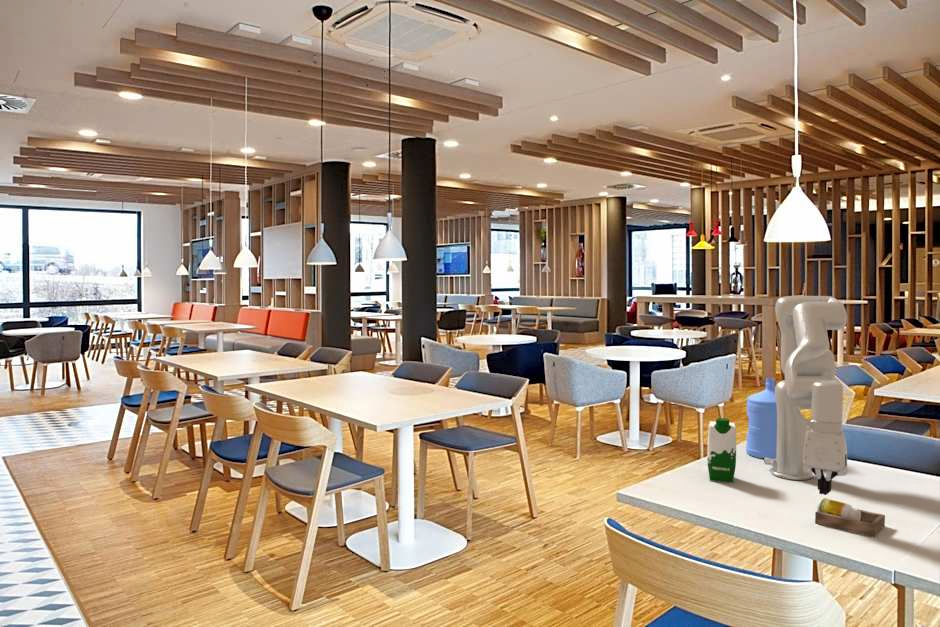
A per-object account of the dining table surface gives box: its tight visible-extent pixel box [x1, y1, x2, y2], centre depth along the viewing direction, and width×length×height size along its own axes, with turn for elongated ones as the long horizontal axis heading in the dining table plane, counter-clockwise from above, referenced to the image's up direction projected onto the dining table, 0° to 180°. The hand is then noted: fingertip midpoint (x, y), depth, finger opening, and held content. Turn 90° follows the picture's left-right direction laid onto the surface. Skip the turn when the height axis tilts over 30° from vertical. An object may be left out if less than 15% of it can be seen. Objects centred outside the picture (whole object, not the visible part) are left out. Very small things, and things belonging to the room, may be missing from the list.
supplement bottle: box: [816, 497, 861, 521], centre depth 188 cm, size 5×5×10 cm
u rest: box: [814, 509, 886, 538], centre depth 186 cm, size 14×10×3 cm
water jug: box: [745, 377, 777, 459], centre depth 255 cm, size 16×16×28 cm
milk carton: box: [706, 417, 737, 484], centre depth 226 cm, size 9×9×20 cm
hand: (824, 493), depth 190 cm, fingers closed
